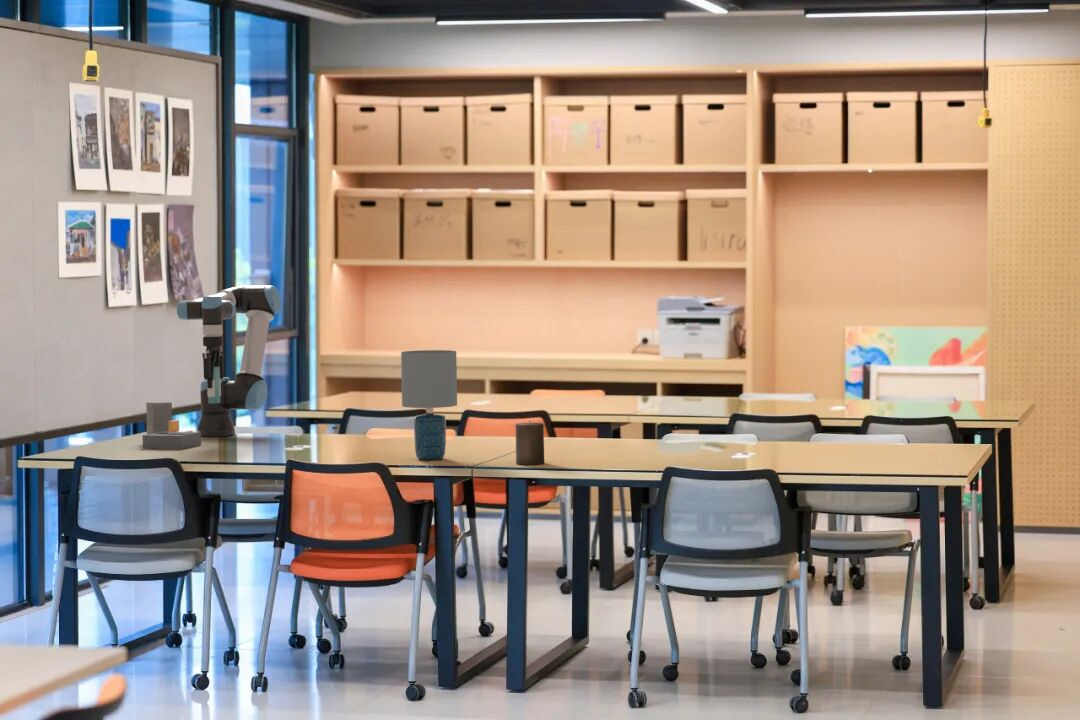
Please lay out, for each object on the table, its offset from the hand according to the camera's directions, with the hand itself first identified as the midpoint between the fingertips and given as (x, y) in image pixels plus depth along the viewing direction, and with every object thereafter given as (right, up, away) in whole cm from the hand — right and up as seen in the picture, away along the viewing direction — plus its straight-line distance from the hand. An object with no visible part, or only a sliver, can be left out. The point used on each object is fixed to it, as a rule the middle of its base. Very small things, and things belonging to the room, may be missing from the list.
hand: (214, 396), depth 613 cm
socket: (-15, -19, -7) cm, 25 cm away
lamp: (+88, -21, -58) cm, 107 cm away
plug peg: (0, -3, 0) cm, 3 cm away
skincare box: (-23, -18, +10) cm, 31 cm away
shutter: (-11, -14, -9) cm, 20 cm away
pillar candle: (+123, -22, -74) cm, 145 cm away
